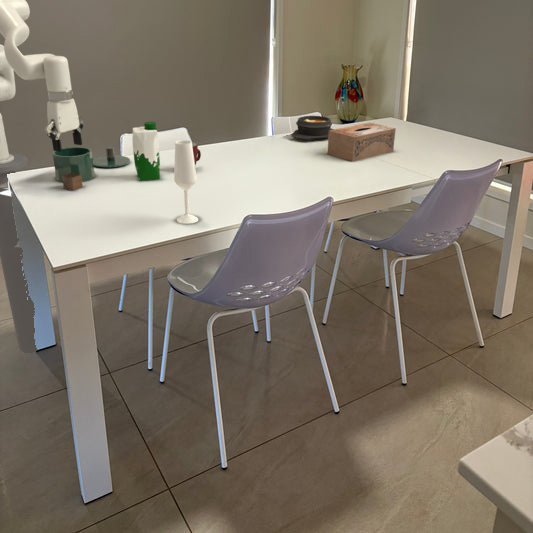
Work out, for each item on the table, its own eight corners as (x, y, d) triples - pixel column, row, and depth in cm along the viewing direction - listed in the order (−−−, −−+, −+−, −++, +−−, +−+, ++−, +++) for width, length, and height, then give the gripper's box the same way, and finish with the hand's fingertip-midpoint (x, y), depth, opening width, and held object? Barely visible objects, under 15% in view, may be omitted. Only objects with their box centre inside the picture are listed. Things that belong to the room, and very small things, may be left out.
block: (63, 188, 206) (62, 176, 204) (72, 185, 209) (71, 172, 207) (73, 190, 204) (71, 178, 202) (82, 187, 207) (81, 174, 205)
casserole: (313, 145, 263) (314, 126, 259) (281, 138, 274) (281, 120, 270) (345, 135, 280) (346, 117, 276) (313, 129, 291) (314, 112, 287)
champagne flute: (199, 215, 184) (196, 139, 173) (197, 223, 178) (194, 145, 167) (177, 215, 183) (173, 139, 173) (175, 223, 177) (170, 145, 167)
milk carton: (162, 179, 215) (158, 125, 207) (137, 182, 213) (132, 126, 204) (158, 173, 223) (154, 120, 214) (134, 175, 220) (129, 121, 212)
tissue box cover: (352, 161, 240) (354, 137, 235) (327, 154, 250) (328, 130, 245) (393, 151, 255) (395, 128, 250) (367, 144, 265) (369, 122, 260)
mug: (191, 164, 234) (189, 139, 229) (206, 167, 230) (206, 142, 225) (173, 170, 226) (171, 145, 221) (189, 174, 222) (188, 148, 217)
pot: (48, 179, 215) (44, 153, 211) (74, 169, 226) (71, 145, 222) (77, 184, 209) (73, 158, 205) (102, 174, 220) (99, 149, 216)
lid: (84, 165, 231) (82, 149, 228) (108, 156, 243) (107, 141, 240) (114, 170, 225) (112, 154, 222) (137, 161, 237) (136, 145, 234)
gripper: (70, 91, 201) (77, 141, 208) (32, 99, 187) (40, 152, 194) (87, 93, 198) (94, 143, 206) (49, 101, 184) (58, 155, 192)
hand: (68, 147), depth 200 cm, fingers open, 9 cm apart
